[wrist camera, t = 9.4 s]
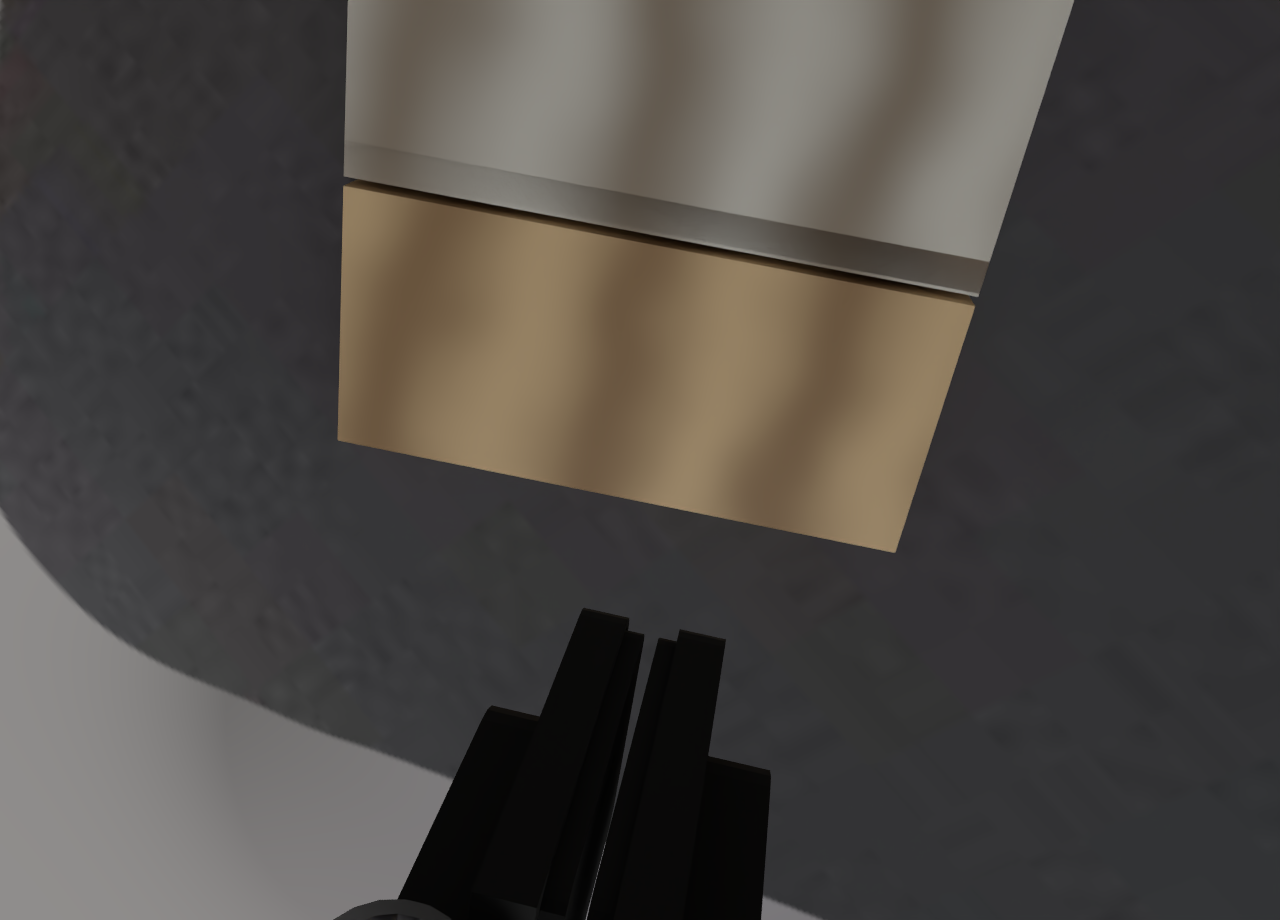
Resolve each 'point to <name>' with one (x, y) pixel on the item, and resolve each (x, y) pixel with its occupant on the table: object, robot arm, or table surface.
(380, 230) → the oak plank
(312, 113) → the table surface
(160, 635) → the table surface
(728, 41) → the laid plank
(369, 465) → the table surface
